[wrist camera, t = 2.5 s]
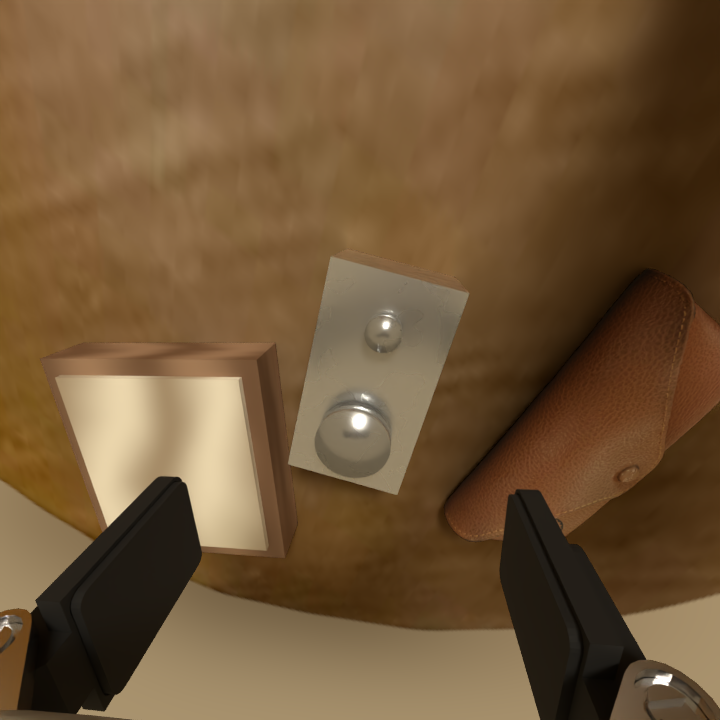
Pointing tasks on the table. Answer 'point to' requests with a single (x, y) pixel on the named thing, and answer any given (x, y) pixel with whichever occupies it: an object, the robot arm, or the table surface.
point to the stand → (183, 434)
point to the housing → (374, 367)
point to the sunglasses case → (602, 412)
